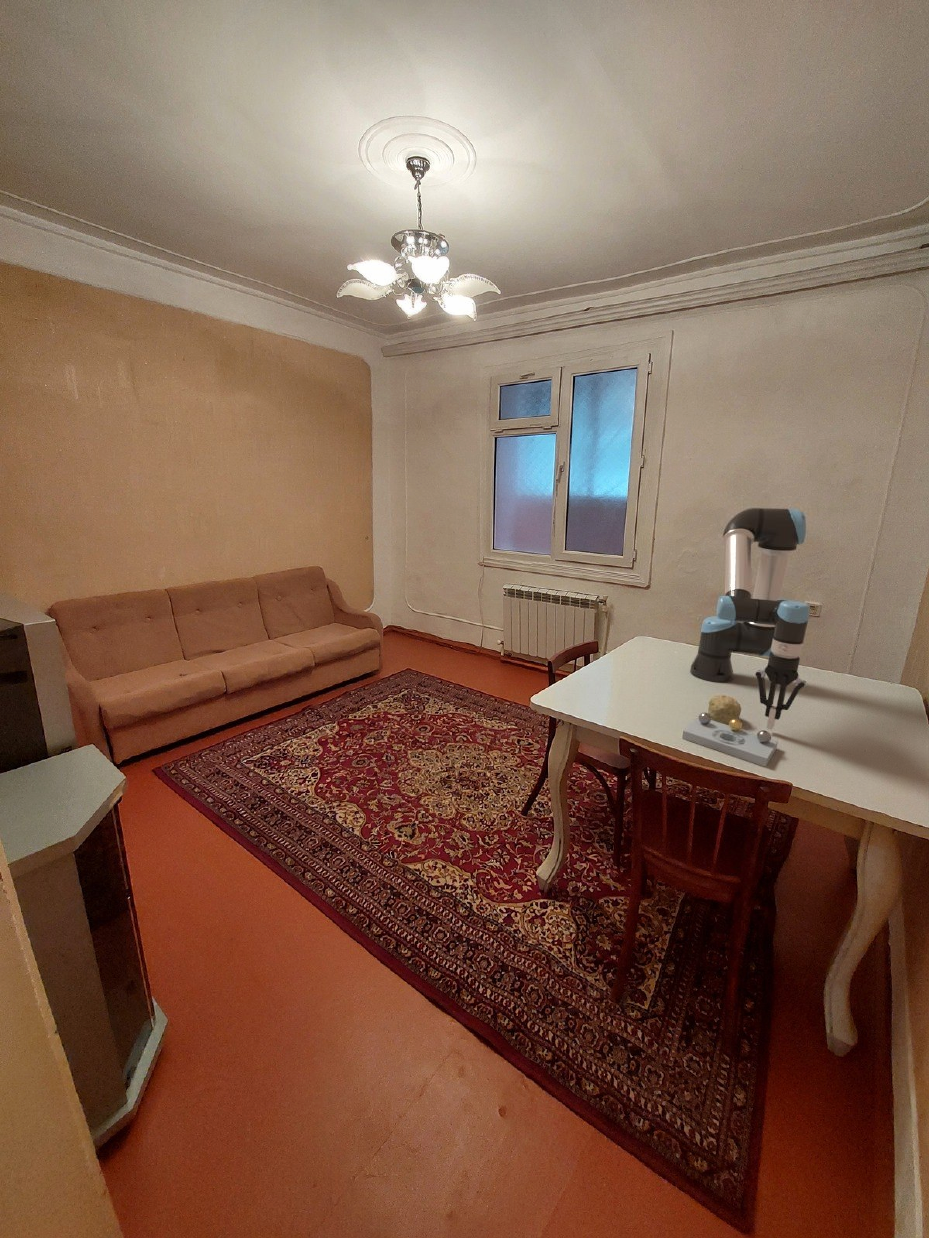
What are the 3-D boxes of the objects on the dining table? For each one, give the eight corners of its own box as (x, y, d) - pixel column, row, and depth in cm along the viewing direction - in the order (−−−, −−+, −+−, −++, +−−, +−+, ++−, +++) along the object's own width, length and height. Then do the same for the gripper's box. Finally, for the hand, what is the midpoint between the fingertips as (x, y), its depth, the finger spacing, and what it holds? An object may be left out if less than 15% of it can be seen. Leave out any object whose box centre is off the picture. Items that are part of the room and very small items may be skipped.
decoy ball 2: (757, 737, 145) (759, 726, 144) (771, 742, 143) (773, 731, 142) (754, 742, 143) (756, 731, 142) (768, 746, 141) (770, 735, 140)
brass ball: (729, 726, 152) (731, 715, 151) (742, 730, 150) (744, 719, 149) (726, 730, 149) (728, 719, 148) (739, 734, 147) (741, 723, 146)
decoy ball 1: (700, 719, 156) (701, 709, 155) (711, 723, 153) (713, 713, 152) (696, 723, 153) (697, 713, 152) (708, 727, 151) (709, 716, 150)
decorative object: (704, 722, 167) (697, 703, 162) (725, 703, 168) (719, 684, 163) (727, 737, 159) (721, 718, 154) (750, 717, 160) (745, 697, 155)
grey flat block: (697, 723, 159) (698, 716, 158) (776, 748, 145) (778, 740, 144) (682, 738, 149) (683, 730, 149) (765, 766, 135) (767, 758, 135)
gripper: (756, 652, 148) (743, 724, 154) (809, 663, 139) (792, 739, 146) (763, 646, 153) (749, 716, 160) (813, 656, 145) (797, 730, 151)
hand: (770, 727), depth 153 cm, fingers closed
